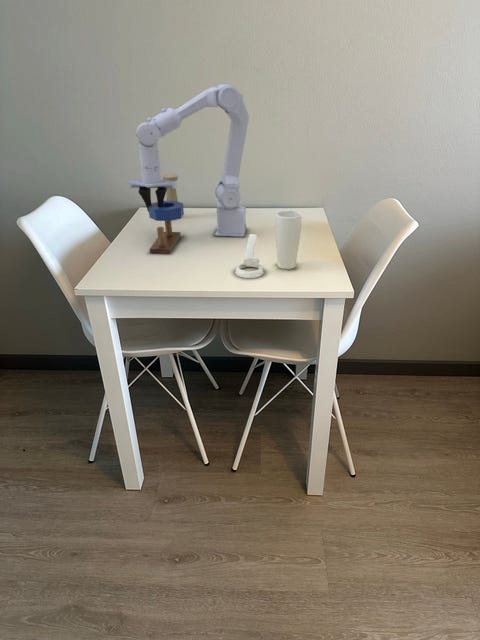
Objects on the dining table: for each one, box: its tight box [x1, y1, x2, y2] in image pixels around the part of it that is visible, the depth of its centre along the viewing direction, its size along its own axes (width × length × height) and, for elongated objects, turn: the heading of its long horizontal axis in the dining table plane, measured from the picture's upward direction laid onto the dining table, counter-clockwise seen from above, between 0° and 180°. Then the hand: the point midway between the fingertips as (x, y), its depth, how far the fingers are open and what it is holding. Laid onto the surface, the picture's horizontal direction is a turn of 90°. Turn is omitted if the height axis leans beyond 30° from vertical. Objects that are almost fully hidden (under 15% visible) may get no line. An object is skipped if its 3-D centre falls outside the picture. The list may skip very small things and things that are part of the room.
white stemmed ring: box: [234, 233, 264, 279], centre depth 127 cm, size 8×12×7 cm
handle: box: [162, 172, 179, 202], centre depth 166 cm, size 5×6×15 cm
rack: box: [149, 220, 182, 255], centre depth 144 cm, size 6×15×7 cm, turn 173°
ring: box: [148, 200, 185, 222], centre depth 145 cm, size 10×10×3 cm
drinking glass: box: [275, 209, 302, 270], centre depth 127 cm, size 7×7×15 cm
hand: (155, 211), depth 146 cm, fingers closed on ring, 3 cm apart
